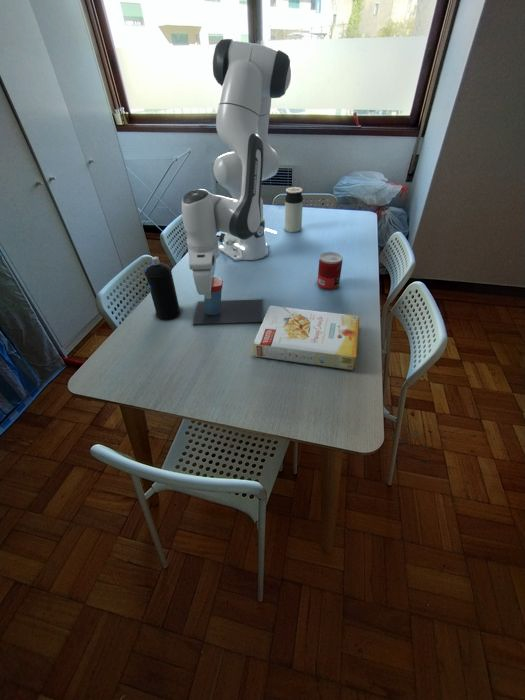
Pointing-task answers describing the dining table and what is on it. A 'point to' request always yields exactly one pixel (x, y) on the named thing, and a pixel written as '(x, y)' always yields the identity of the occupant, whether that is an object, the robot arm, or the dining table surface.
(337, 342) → the cereal box
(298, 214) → the travel mug
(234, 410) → the dining table surface
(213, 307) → the container
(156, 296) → the aerosol can
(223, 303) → the mat
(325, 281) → the canned food
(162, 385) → the dining table surface
